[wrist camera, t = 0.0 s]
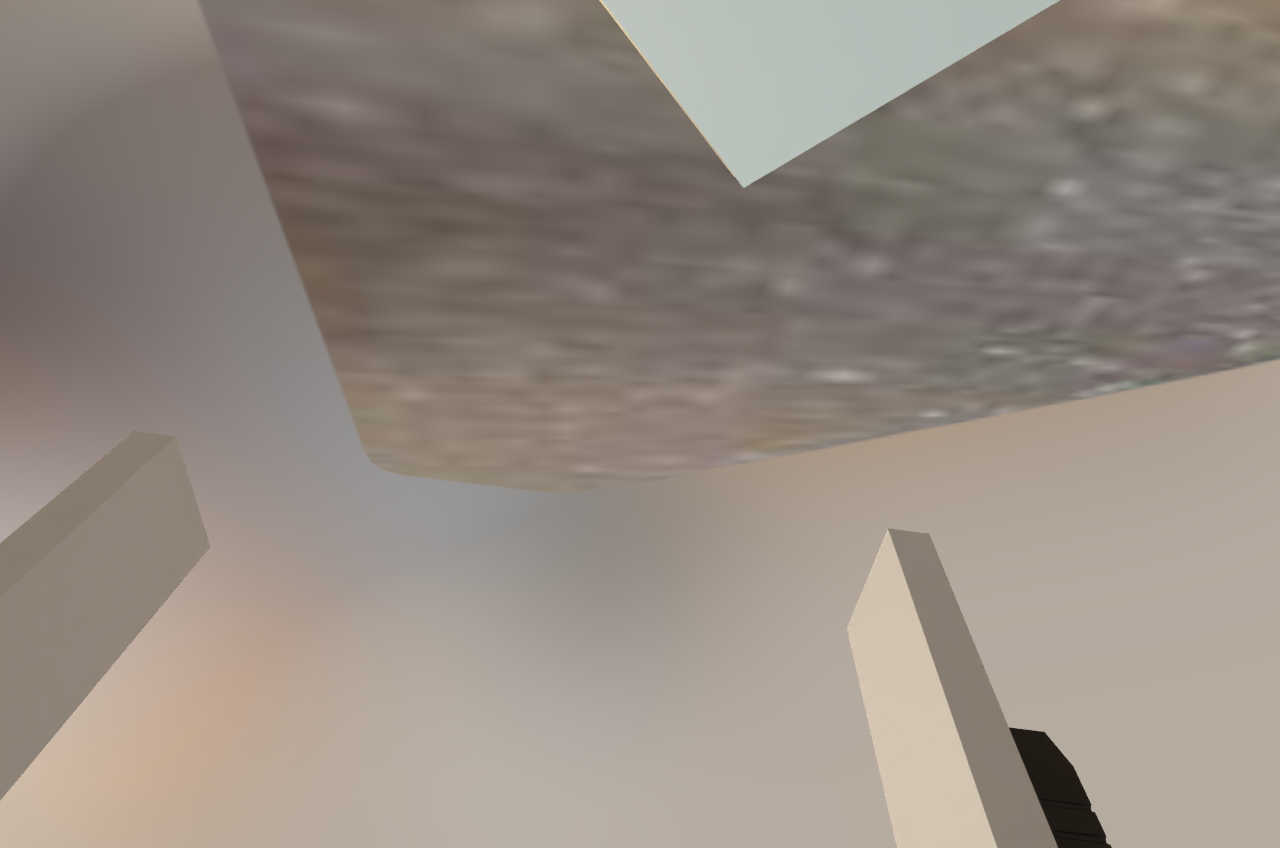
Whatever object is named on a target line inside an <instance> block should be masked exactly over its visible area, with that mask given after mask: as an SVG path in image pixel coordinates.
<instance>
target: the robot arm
mask: <svg viewBox="0 0 1280 848" xmlns="http://www.w3.org/2000/svg"><path fill="white" fill-rule="evenodd" d="M209 548H210V544H209V541H208V538H207V535H206V531H205V528H204V525H203V522H202V519H201V515H200V512H199V509H198V505H197V502H196V499H195V495H194V492H193V489H192V486H191V482H190V479H189V476H188V473H187V469H186V466H185V463H184V460H183V457H182V453H181V450H180V447H179V443H178V440H177V437H176V436H169V435H161V434H154V433H146V432H138V431H134V432H133V433H132V434H130V435H129V436H128V437H127V438H126V439H124V440H123V441H122V442H121V443H120V444H118V445H117V446H116V447H115V448H114V449H112V450H111V451H110V452H109V453H108V454H107V455H105V456H104V457H103V458H102V459H100V460H99V461H98V462H97V463H96V464H94V465H93V466H92V467H91V468H90V469H89V470H87V471H86V472H85V473H84V474H83V475H81V476H80V477H79V478H78V479H77V480H75V481H74V482H73V483H72V484H71V485H69V487H67V488H66V489H65V490H63V491H62V492H61V493H60V494H59V495H58V496H56V497H55V498H54V499H53V500H52V501H50V502H49V503H48V504H47V505H46V506H44V507H43V508H42V509H41V510H40V511H38V512H37V513H36V514H35V515H34V516H32V517H31V518H30V519H29V520H28V521H26V522H25V523H24V524H23V525H22V526H20V527H19V528H18V529H17V530H16V531H15V532H13V533H12V534H11V535H10V536H9V537H7V538H6V539H5V540H4V541H3V542H1V543H0V800H1V799H2V798H3V797H4V795H5V794H6V793H7V792H8V791H9V789H10V788H11V787H12V786H13V785H14V783H15V782H16V781H17V780H18V778H19V777H20V776H21V775H22V774H23V773H24V771H25V770H26V769H27V768H28V766H29V765H30V764H31V763H32V762H33V760H34V759H35V758H36V757H37V756H38V754H39V753H40V752H41V751H42V750H43V748H44V747H45V746H46V745H47V744H48V742H49V741H50V740H51V739H52V737H53V736H54V735H55V734H56V733H57V731H58V730H59V729H60V728H61V727H62V725H63V724H64V723H65V722H66V720H67V719H68V718H69V717H70V716H71V715H72V713H73V712H74V711H75V710H76V708H77V707H78V706H79V705H80V704H81V702H82V701H83V700H84V699H85V698H86V696H87V695H88V694H89V692H90V691H91V690H92V689H93V688H94V687H95V686H96V684H97V683H98V682H99V681H100V679H101V678H102V677H103V676H104V674H105V673H106V672H107V671H108V670H109V668H110V667H111V666H112V665H113V664H114V663H115V661H116V660H117V659H118V658H119V657H120V655H121V654H122V653H123V652H124V651H125V649H126V648H127V647H128V645H129V644H130V643H131V642H132V641H133V640H134V638H135V637H136V636H137V635H138V633H139V632H140V631H141V630H142V629H143V628H144V626H145V625H146V624H147V623H148V621H149V620H150V619H151V618H152V617H153V615H154V614H155V613H156V612H157V611H158V609H159V608H160V607H161V606H162V605H163V603H164V602H165V601H166V600H167V598H168V597H169V596H170V595H171V594H172V592H173V591H174V590H175V589H176V588H177V586H178V585H179V584H180V583H181V582H182V580H183V579H184V578H185V577H186V576H187V574H188V573H189V572H190V571H191V569H192V568H193V567H194V566H195V565H196V564H197V562H198V561H199V560H200V559H201V558H202V556H203V555H204V554H205V553H206V551H207V550H208V549H209ZM847 630H848V636H849V640H850V644H851V649H852V653H853V657H854V662H855V666H856V670H857V675H858V679H859V683H860V688H861V692H862V697H863V701H864V705H865V710H866V714H867V719H868V723H869V727H870V732H871V736H872V740H873V745H874V749H875V753H876V758H877V762H878V766H879V771H880V775H881V779H882V784H883V788H884V793H885V797H886V801H887V806H888V810H889V814H890V819H891V823H892V828H893V832H894V836H895V840H896V845H897V848H1112V847H1111V845H1109V844H1107V843H1106V835H1105V833H1104V831H1103V828H1102V826H1101V824H1100V822H1099V820H1098V818H1097V816H1096V814H1095V812H1092V811H1091V803H1090V801H1089V799H1088V797H1087V795H1086V792H1085V790H1084V788H1083V786H1082V784H1081V782H1080V780H1079V777H1078V776H1077V773H1076V771H1075V769H1074V767H1073V766H1072V764H1071V763H1070V762H1069V761H1068V760H1067V759H1066V757H1065V756H1064V755H1063V754H1062V752H1061V751H1060V750H1059V749H1058V748H1057V747H1056V745H1055V744H1054V743H1053V742H1052V741H1051V739H1050V738H1049V737H1048V736H1047V735H1046V733H1045V732H1040V731H1032V730H1024V729H1016V728H1009V727H1008V725H1007V722H1006V720H1005V717H1004V715H1003V712H1002V710H1001V708H1000V705H999V703H998V700H997V698H996V696H995V693H994V691H993V688H992V686H991V683H990V681H989V678H988V676H987V674H986V671H985V669H984V666H983V664H982V661H981V659H980V656H979V654H978V652H977V649H976V647H975V644H974V642H973V639H972V637H971V635H970V632H969V630H968V627H967V625H966V622H965V620H964V617H963V615H962V613H961V610H960V608H959V605H958V603H957V601H956V598H955V596H954V593H953V591H952V588H951V586H950V583H949V581H948V578H947V576H946V574H945V571H944V569H943V566H942V564H941V562H940V559H939V557H938V554H937V552H936V549H935V547H934V544H933V542H932V540H931V537H930V535H929V534H926V533H918V532H910V531H903V530H895V529H888V530H887V533H886V535H885V537H884V540H883V542H882V545H881V547H880V550H879V552H878V554H877V557H876V559H875V562H874V564H873V566H872V569H871V571H870V574H869V576H868V579H867V581H866V584H865V586H864V588H863V591H862V593H861V596H860V598H859V601H858V603H857V605H856V608H855V610H854V613H853V615H852V617H851V620H850V622H849V625H848V627H847Z"/></svg>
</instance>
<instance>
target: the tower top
mask: <svg viewBox="0 0 1280 848" xmlns="http://www.w3.org/2000/svg"><path fill="white" fill-rule="evenodd" d="M602 1H603V2H604V4H605V5H606V6H607V8H608V9H609V10H610V12H611V13H612V14H613V16H614V17H615V18H616V20H617V21H618V22H619V24H620V25H621V26H622V28H623V29H624V30H625V31H626V33H627V34H628V35H629V37H630V38H631V39H632V41H633V42H634V43H635V45H636V46H637V47H638V49H639V50H640V51H641V53H642V54H643V55H644V57H645V58H646V59H647V61H648V62H649V63H650V65H651V66H652V67H653V69H654V70H655V71H656V73H657V74H658V75H659V77H660V78H661V79H662V81H663V82H664V83H665V85H666V86H667V87H668V89H669V90H670V91H671V92H672V94H673V95H674V96H675V98H676V99H677V100H678V102H679V103H680V104H681V106H682V107H683V108H684V110H685V111H686V112H687V114H688V115H689V116H690V118H691V119H692V120H693V122H694V123H695V124H696V126H697V127H698V128H699V130H700V131H701V132H702V134H703V135H704V136H705V138H706V139H707V140H708V142H709V143H710V144H711V146H712V147H713V148H714V149H715V151H716V152H717V153H718V155H719V156H720V157H721V159H722V160H723V161H724V163H725V164H726V165H727V167H728V168H729V169H730V171H731V172H732V173H733V175H734V176H735V177H736V179H737V180H738V181H739V183H740V184H741V185H742V187H743V188H744V187H746V186H748V185H749V184H751V183H753V182H754V181H756V180H758V179H759V178H761V177H763V176H764V175H766V174H768V173H769V172H771V171H773V170H775V169H776V168H778V167H780V166H781V165H783V164H785V163H786V162H788V161H790V160H791V159H793V158H795V157H796V156H798V155H800V154H801V153H803V152H805V151H807V150H808V149H810V148H812V147H813V146H815V145H817V144H818V143H820V142H822V141H823V140H825V139H827V138H828V137H830V136H832V135H833V134H835V133H837V132H839V131H840V130H842V129H844V128H845V127H847V126H849V125H850V124H852V123H854V122H855V121H857V120H859V119H860V118H862V117H864V116H865V115H867V114H869V113H871V112H872V111H874V110H876V109H877V108H879V107H881V106H882V105H884V104H886V103H887V102H889V101H891V100H892V99H894V98H896V97H897V96H899V95H901V94H903V93H904V92H906V91H908V90H909V89H911V88H913V87H914V86H916V85H918V84H919V83H921V82H923V81H924V80H926V79H928V78H929V77H931V76H933V75H935V74H936V73H938V72H940V71H941V70H943V69H945V68H946V67H948V66H950V65H951V64H953V63H955V62H956V61H958V60H960V59H962V58H963V57H965V56H967V55H968V54H970V53H972V52H973V51H975V50H977V49H978V48H980V47H982V46H983V45H985V44H987V43H988V42H990V41H992V40H994V39H995V38H997V37H999V36H1000V35H1002V34H1004V33H1005V32H1007V31H1009V30H1010V29H1012V28H1014V27H1015V26H1017V25H1019V24H1020V23H1022V22H1024V21H1026V20H1027V19H1029V18H1031V17H1032V16H1034V15H1036V14H1037V13H1039V12H1041V11H1042V10H1044V9H1046V8H1047V7H1049V6H1051V5H1052V4H1054V3H1056V2H1058V1H1059V0H602Z"/></svg>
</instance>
